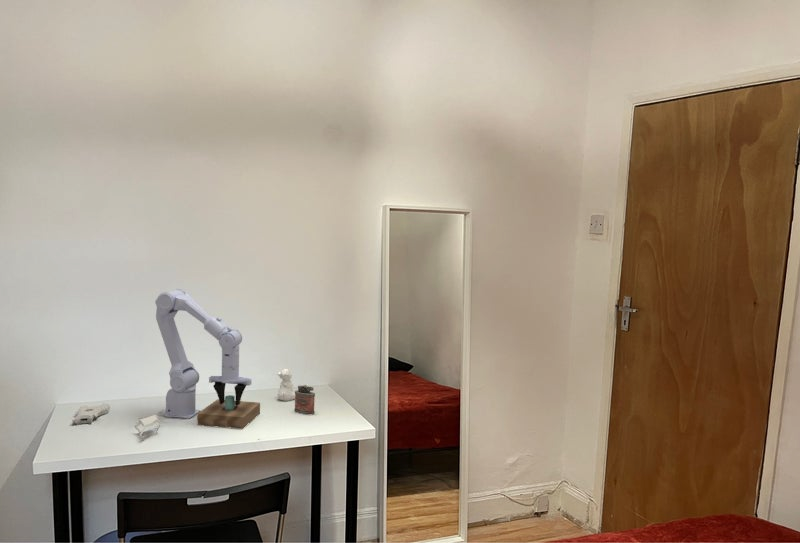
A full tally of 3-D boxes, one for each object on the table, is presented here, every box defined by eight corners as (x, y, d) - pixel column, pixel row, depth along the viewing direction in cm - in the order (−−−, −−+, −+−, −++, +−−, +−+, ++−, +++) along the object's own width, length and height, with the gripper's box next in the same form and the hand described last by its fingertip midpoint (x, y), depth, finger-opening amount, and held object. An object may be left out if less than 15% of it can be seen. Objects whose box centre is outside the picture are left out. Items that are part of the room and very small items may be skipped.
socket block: (197, 425, 201) (197, 413, 201) (217, 410, 217) (217, 399, 216) (243, 428, 199) (243, 417, 199) (259, 413, 215) (260, 402, 215)
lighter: (292, 411, 218) (293, 385, 217) (297, 409, 221) (298, 382, 220) (311, 415, 215) (312, 388, 214) (316, 412, 218) (317, 386, 217)
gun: (104, 413, 199) (70, 416, 195) (104, 424, 199) (70, 426, 195) (110, 400, 216) (78, 402, 212) (110, 409, 216) (79, 412, 212)
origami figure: (134, 430, 195) (134, 415, 194) (162, 428, 197) (162, 413, 197) (130, 443, 183) (130, 428, 183) (159, 441, 186) (159, 426, 185)
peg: (223, 420, 207) (223, 397, 206) (226, 417, 210) (227, 395, 209) (232, 421, 206) (232, 398, 205) (235, 417, 209) (236, 395, 209)
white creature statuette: (303, 397, 236) (303, 367, 235) (291, 403, 228) (292, 372, 226) (282, 394, 239) (283, 364, 238) (270, 400, 231) (270, 369, 230)
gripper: (205, 366, 203) (204, 405, 204) (246, 369, 201) (245, 409, 203) (214, 362, 210) (213, 399, 211) (253, 364, 208) (253, 402, 210)
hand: (229, 403), depth 207 cm, fingers open, 5 cm apart
